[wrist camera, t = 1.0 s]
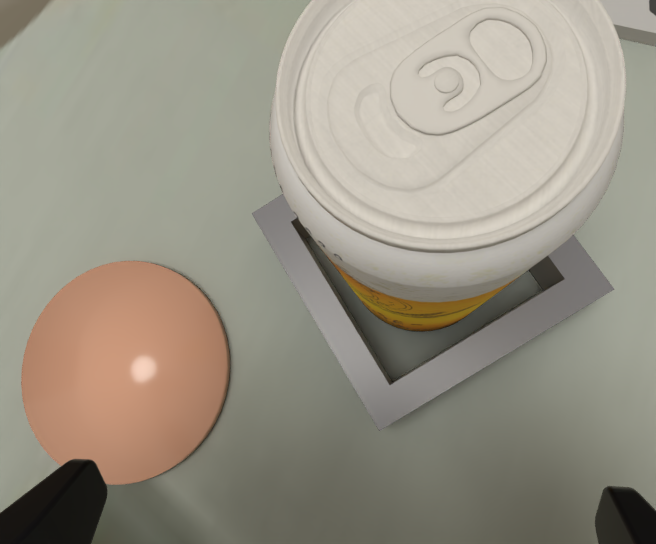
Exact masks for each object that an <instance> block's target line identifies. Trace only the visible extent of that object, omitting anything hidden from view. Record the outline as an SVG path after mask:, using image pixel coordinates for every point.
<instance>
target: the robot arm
mask: <svg viewBox="0 0 656 544" xmlns="http://www.w3.org/2000/svg"><path fill="white" fill-rule="evenodd" d="M106 499H107V486H106V483H105V481H104V479H103V477H102V475H101V473H100V471H99V469H98V466H97V464H96V463H95V462H94V461H93V460H91V459H72V460H69V461H68V462H66V463H65V464H63V465H62V466H61V467H60V468H58V469H57V470H56V471H54V472H53V473H52V474H50V475H49V476H48V477H46V478H45V479H44V480H43V481H41V482H40V483H39V484H37V485H36V486H35V487H33V488H32V489H31V490H30V491H28V492H27V493H26V494H24V495H23V496H22V497H20V498H19V499H18V500H17V501H15V502H14V503H13V504H11V505H10V506H9V507H7V508H6V509H5V510H4V511H2V512H1V513H0V544H91V543H92V540H93V537H94V534H95V531H96V528H97V525H98V522H99V520H100V517H101V514H102V511H103V508H104V505H105V502H106ZM595 527H596V533H597V538H598V542H599V544H656V510H655V509H654V508H653V507H652V506H651V505H650V504H649V503H648V502H647V501H646V500H645V499H644V498H643V497H642V496H641V495H640V494H639V493H638V492H637V491H636V490H634V489H632V488H629V487H616V486H607V487H606V488H605V489H604V490H603V493H602V496H601V499H600V503H599V506H598V510H597V513H596V517H595Z"/></svg>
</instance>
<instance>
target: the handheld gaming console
mask: <svg viewBox="0 0 656 544" xmlns="http://www.w3.org/2000/svg"><path fill="white" fill-rule="evenodd" d="M600 2H601V3H602V4H603V6H604V8H605V10H606V11H607V13H608V15H609V16H610V18H611V20H612V22H613V25H614V27H615V29H616V32H617V34H618V37H619V38H620V39H624V40H629V41H633V42H638V43H643V44H647V45H652V46H656V0H600Z"/></svg>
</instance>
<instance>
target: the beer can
mask: <svg viewBox="0 0 656 544" xmlns="http://www.w3.org/2000/svg"><path fill="white" fill-rule="evenodd" d="M625 96H626V70H625V62H624V55H623V51H622V48H621V44H620V40H619V37H618V34H617V32H616V29H615V27H614V25H613V22H612V20H611V18H610V16H609V15H608V13H607V11H606V10H605V8H604V6H603V4H602V3H601V2H600V0H312V1H311V2H310V3H309V4H308V6H307V7H306V8H305V10H304V11H303V13H302V14H301V16H300V17H299V19H298V20H297V22H296V24H295V26H294V28H293V30H292V32H291V33H290V35H289V37H288V40H287V42H286V45H285V48H284V50H283V53H282V56H281V60H280V64H279V68H278V73H277V81H276V89H275V93H274V97H273V101H272V106H271V114H270V136H269V140H270V149H271V157H272V162H273V166H274V170H275V174H276V177H277V180H278V182H279V185H280V187H281V190H282V193H283V195H284V196H285V198H286V200H287V202H288V204H289V206H290V208H291V209H292V211H293V212H294V214H295V215H296V217H297V218H298V219H299V221H300V222H301V224H302V225H303V226H304V228H305V229H306V230H307V232H308V233H309V234H310V235H311V237H312V238H313V239H314V241H315V242H316V243H317V244H318V246H319V247H320V248H321V250H322V251H323V252H324V253H325V255H326V256H327V257H328V259H329V260H330V261H331V263H332V264H333V265H334V266H335V268H336V269H337V270H338V272H339V273H340V274H341V275H342V277H343V278H344V279H345V281H346V282H347V283H348V284H349V286H350V287H351V288H352V290H353V291H354V292H355V293H356V295H357V296H358V297H359V299H360V300H361V301H362V303H363V304H364V305H365V306H366V307H367V308H368V309H369V310H370V311H371V312H372V313H373V314H374V315H375V316H377V317H378V318H379V319H381V320H382V321H384V322H386V323H388V324H390V325H392V326H395V327H397V328H401V329H405V330H411V331H432V330H437V329H441V328H444V327H448V326H450V325H452V324H454V323H456V322H458V321H460V320H461V319H463V318H464V317H466V316H467V315H468V314H470V313H471V312H472V311H474V310H475V309H476V308H478V307H479V306H480V305H482V304H483V303H485V302H486V301H487V300H489V299H490V298H491V297H493V296H494V295H495V294H497V293H498V292H499V291H501V290H502V289H503V288H505V287H506V286H507V285H509V284H510V283H511V282H513V281H514V280H515V279H517V278H518V277H519V276H521V275H522V274H524V273H525V272H526V271H528V270H529V269H530V268H532V267H533V266H534V265H536V264H537V263H538V262H540V261H541V260H542V259H544V258H545V257H546V256H548V255H549V254H550V253H552V252H553V251H554V250H556V249H557V248H558V247H559V246H561V245H562V244H563V243H564V242H566V241H567V240H568V239H569V238H570V237H571V236H572V235H573V234H574V233H575V232H576V231H577V230H578V229H579V228H580V227H581V226H582V225H583V224H584V223H585V221H586V220H587V219H588V218H589V216H590V215H591V214H592V212H593V211H594V210H595V209H596V207H597V205H598V204H599V202H600V200H601V199H602V197H603V195H604V194H605V192H606V190H607V188H608V186H609V184H610V181H611V179H612V177H613V174H614V172H615V169H616V166H617V162H618V159H619V155H620V152H621V146H622V139H623V132H624V103H625Z"/></svg>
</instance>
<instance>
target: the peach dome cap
mask: <svg viewBox="0 0 656 544" xmlns="http://www.w3.org/2000/svg"><path fill="white" fill-rule="evenodd" d="M229 375H230V352H229V346H228V340H227V336H226V333H225V330H224V326H223V324H222V321H221V319H220V317H219V315H218V313H217V311H216V309H215V308H214V306H213V305H212V303H211V301H210V300H209V299H208V298H207V296H206V295H205V294H204V293H203V292H202V291H201V290H200V289H199V288H198V287H197V286H196V285H195V284H194V283H193V282H191V281H190V280H188V279H187V278H185V277H184V276H182V275H181V274H178V273H176V272H174V271H172V270H170V269H168V268H165V267H162V266H159V265H156V264H152V263H147V262H141V261H122V262H113V263H110V264H106V265H102V266H99V267H96V268H94V269H91V270H89V271H87V272H85V273H83V274H82V275H80V276H78V277H76V278H75V279H74V280H72V281H71V282H70V283H68V284H67V285H66V286H64V287H63V288H62V289H61V290H60V291H59V292H58V293H57V294H56V295H55V296H54V297H53V298H52V300H51V301H50V302H49V303H48V304H47V306H46V307H45V309H44V310H43V312H42V313H41V314H40V316H39V318H38V320H37V322H36V323H35V325H34V327H33V329H32V332H31V334H30V337H29V340H28V342H27V346H26V350H25V354H24V359H23V365H22V381H21V385H22V397H23V402H24V407H25V412H26V415H27V418H28V421H29V424H30V426H31V428H32V430H33V432H34V434H35V436H36V438H37V440H38V441H39V442H40V444H41V445H42V447H43V448H44V450H45V451H46V452H47V453H48V454H49V455H50V456H51V457H52V459H54V460H55V461H56V462H57V463H58V464H59V465H61V466H62V465H63V464H65V463H66V462H68V461H69V460H72V459H91V460H93V461H94V462H95V463H96V464H97V466H98V469H99V471H100V473H101V475H102V477H103V479H104V481H105V483H106V484H113V485H116V484H130V483H135V482H140V481H143V480H146V479H149V478H152V477H155V476H157V475H159V474H161V473H163V472H165V471H167V470H169V469H171V468H173V467H175V466H176V465H177V464H179V463H180V462H182V461H183V460H185V459H186V458H187V457H188V456H189V455H190V454H191V453H192V452H194V451H195V450H196V449H197V448H198V447H199V445H200V444H201V443H202V442H203V441H204V439H205V438H206V437H207V435H208V434H209V432H210V431H211V429H212V428H213V426H214V424H215V422H216V420H217V418H218V416H219V414H220V412H221V410H222V407H223V404H224V401H225V398H226V394H227V389H228V384H229Z"/></svg>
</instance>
